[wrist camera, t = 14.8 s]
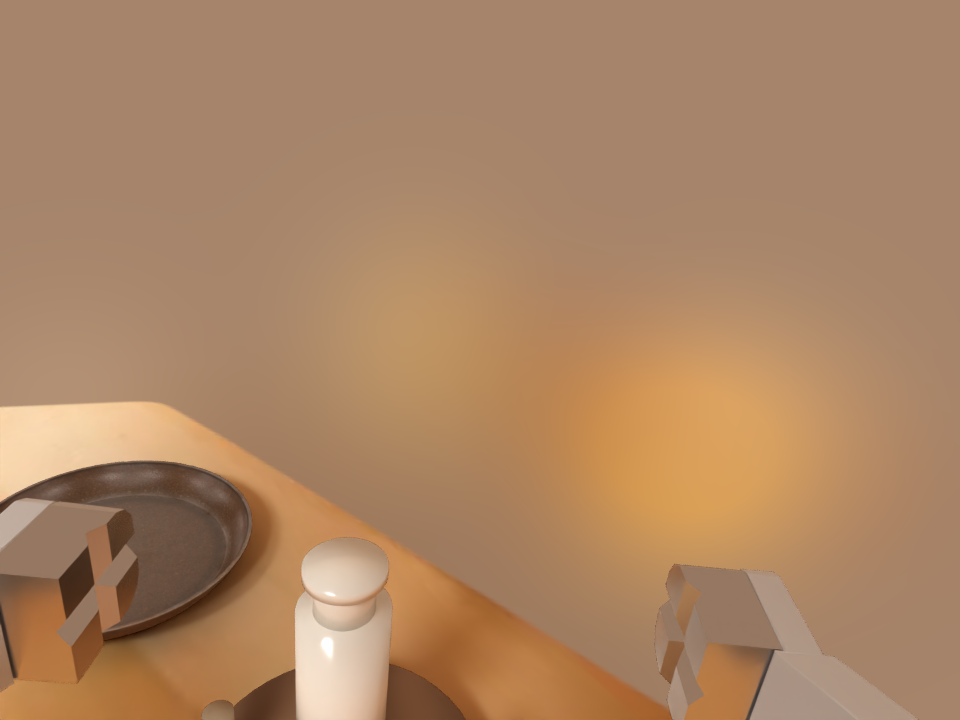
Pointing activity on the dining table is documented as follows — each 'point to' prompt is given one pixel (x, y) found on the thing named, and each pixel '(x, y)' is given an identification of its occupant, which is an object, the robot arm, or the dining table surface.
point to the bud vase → (343, 632)
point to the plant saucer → (161, 529)
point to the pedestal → (272, 707)
